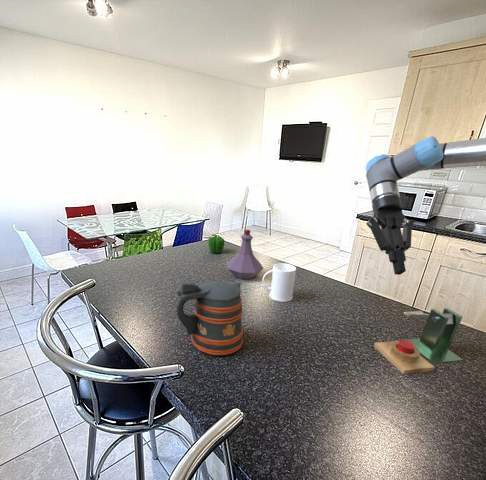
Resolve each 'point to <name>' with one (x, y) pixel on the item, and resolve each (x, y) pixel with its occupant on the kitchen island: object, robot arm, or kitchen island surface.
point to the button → (405, 346)
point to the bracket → (438, 337)
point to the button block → (404, 358)
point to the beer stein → (213, 316)
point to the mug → (281, 282)
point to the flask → (245, 260)
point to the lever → (425, 315)
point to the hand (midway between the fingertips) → (400, 272)
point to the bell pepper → (216, 244)
